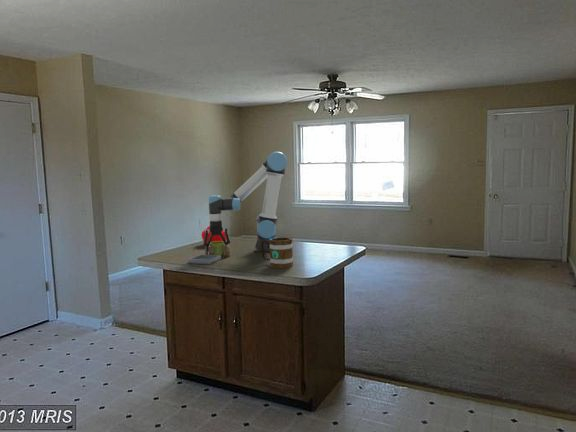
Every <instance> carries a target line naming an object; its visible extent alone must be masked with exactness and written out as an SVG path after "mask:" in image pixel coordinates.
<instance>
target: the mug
mask: <svg viewBox="0 0 576 432" xmlns="http://www.w3.org/2000/svg"><path fill="white" fill-rule="evenodd" d="M264 242H266V243H267V244H268V245H270V252H268V253H269V254H268V255H269V257H268V258H267V257H266V252H264ZM261 248H262V252H261V256H262V259H263V260H264V261H270V262H269V267H270V268H274V269H288V268H292V267H293V266H294V259H293V258H294V257H293V256H294V251H293V237H285V236H282V237H275V238H270V239H269V241H267V240H263V241H262V243H261Z"/></svg>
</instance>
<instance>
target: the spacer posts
mask: <svg viewBox="0 0 576 432" xmlns="http://www.w3.org/2000/svg"><path fill="white" fill-rule="evenodd" d="M209 246H210V244H209ZM208 251H209V255H214V247H211V246H210V247H208ZM230 254H231V253H230V245H229V244H228V245H224V246H223V254H222V255H223V256H224V258H230ZM204 255H208V252H207V251H206V246H204Z"/></svg>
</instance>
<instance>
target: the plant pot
mask: <svg viewBox="0 0 576 432" xmlns="http://www.w3.org/2000/svg"><path fill="white" fill-rule="evenodd" d="M223 245H224V242H223V241H215V242H210V247H214V255H220V256H221V257H223V255H224V254H223Z"/></svg>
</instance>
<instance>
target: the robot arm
mask: <svg viewBox="0 0 576 432" xmlns="http://www.w3.org/2000/svg"><path fill="white" fill-rule="evenodd" d="M287 165H288V159H287V156H286V155H285V153H283V152H281V151H272V153H270V154H269V155H268V157H267V158H266V160H265V161H264V162H263V163H262V164H261V167H260V168H258V170H257V171H255V173H254V174H252V175H251V176H250V177H249V178H248V179H247V180H246V181H245V182H244V183H243V184H242V185H241V186H239V187H238V189H236V190H235V192H233V193H232V194H231V195H230V196H229V197H227V198H222V197H221V195H210V196H209V197H208V211H209V212H208V213H209V226H210V229H209V230H205V229H204V230H205V238H204V241H203V243H202V245H203V246H204V247H205V246H206V251H207V252H208V255H209V251H208V247H211V246H209V244H210V242H211V240H212V238H213V236H214V235H220V237H221V238H222V240H223V242H224V245H229V244H230V243H231V240H230V238H229V234H228V228H227V227H225V228H224V227H223V222H222V221H223V220H222V219H223V218H222V217H223V216H222V211H240V210H241V203H242V202H243V201H244V200H245V199H246V198H247V197H248V196H250V194H251V193H252V192H253V191H255V190H256V189H257V188H258V187H259V186H260V185H261V184H262V183H263V182H265V180H266V184H265V186H266V187H265V191H264V199H263V203H262V210H261V213H260V214H259V215H257V216H256V220H255V221H256V237H257V239H256V242H255V245H254V251H256V252H259V253H262V248H261V243H262V241H263V240H267V241H269V239H270V238H276V236H275V235H276V232H277V222H278V216H277V215H276V214H277V208H278V200H279V194H280V188H281V183H282V178H283V176H285V173H286V167H287ZM209 231H210V232H211V235H210V237H209V240H208V242H207V237H208V233H209ZM222 231H224V233H225V236H226V240H225V239H224V237H223V235H222V233H221V232H222ZM206 242H207V244H206ZM224 245H223V246H224ZM264 253H270V245H268V244H267V243H266V242H264Z"/></svg>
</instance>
